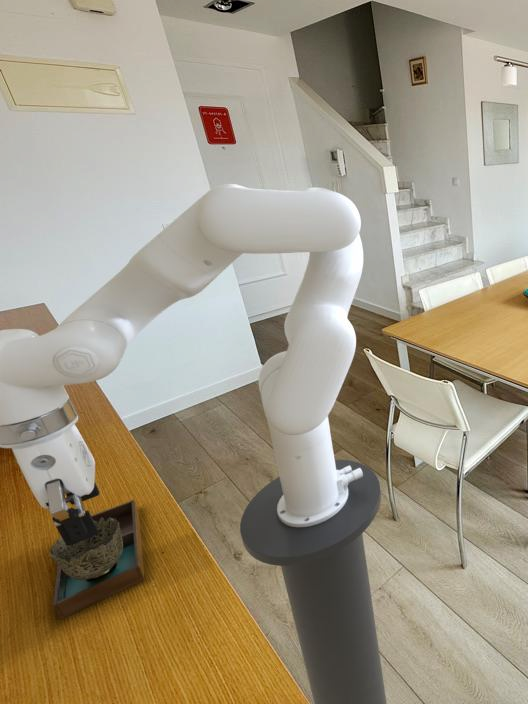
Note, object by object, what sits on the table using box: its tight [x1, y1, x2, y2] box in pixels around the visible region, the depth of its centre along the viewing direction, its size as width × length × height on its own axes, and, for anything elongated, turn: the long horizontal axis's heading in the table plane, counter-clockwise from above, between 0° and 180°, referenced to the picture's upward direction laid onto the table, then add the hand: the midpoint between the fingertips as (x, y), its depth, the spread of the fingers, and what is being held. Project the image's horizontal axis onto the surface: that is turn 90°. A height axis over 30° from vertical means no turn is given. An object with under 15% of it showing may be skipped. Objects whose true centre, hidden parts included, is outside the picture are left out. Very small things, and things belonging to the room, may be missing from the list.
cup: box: [49, 517, 123, 583], centre depth 63 cm, size 8×7×8 cm
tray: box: [52, 499, 145, 621], centre depth 67 cm, size 9×18×3 cm, turn 42°
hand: (84, 517), depth 61 cm, fingers open, 9 cm apart
